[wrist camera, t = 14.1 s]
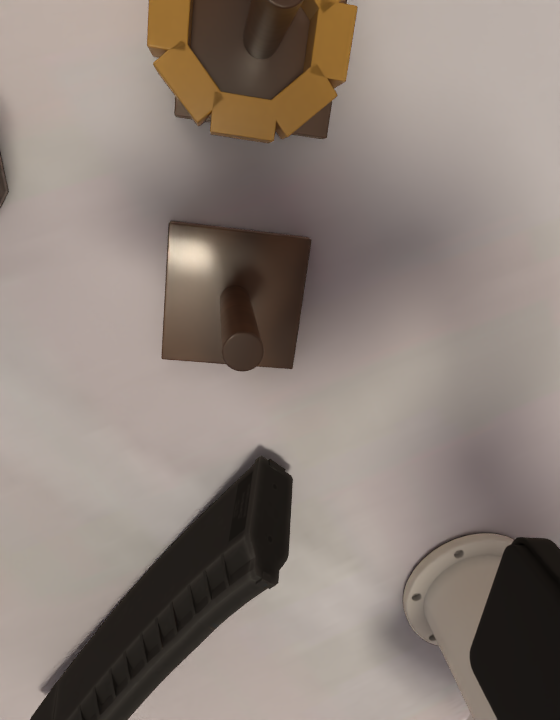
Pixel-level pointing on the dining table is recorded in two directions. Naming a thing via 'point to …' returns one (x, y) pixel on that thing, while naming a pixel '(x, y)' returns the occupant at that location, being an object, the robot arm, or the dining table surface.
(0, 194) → the can
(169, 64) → the ring
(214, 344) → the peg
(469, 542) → the robot arm
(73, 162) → the dining table surface
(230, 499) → the magazine
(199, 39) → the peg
